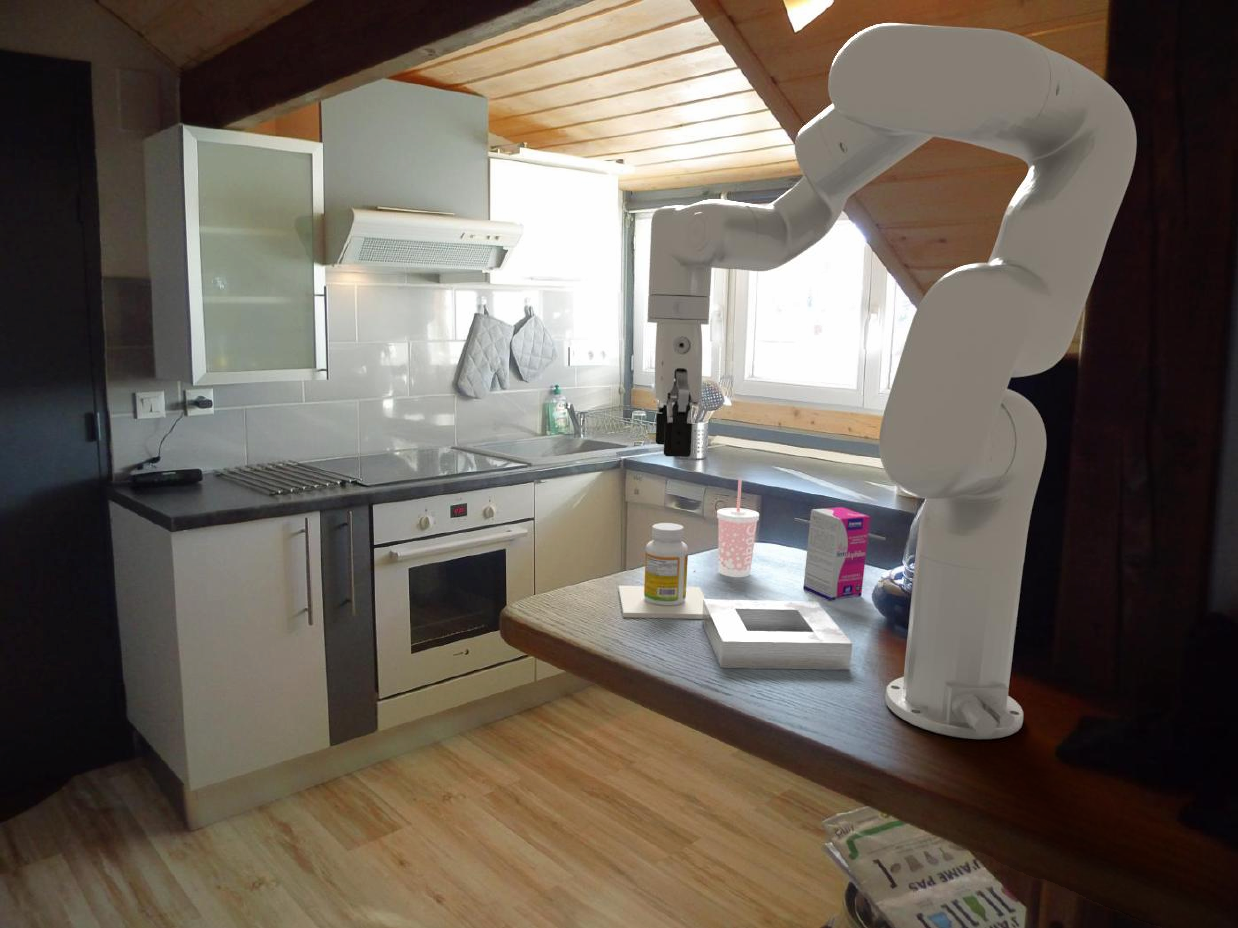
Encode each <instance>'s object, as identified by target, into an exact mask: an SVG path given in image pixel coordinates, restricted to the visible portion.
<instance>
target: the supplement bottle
mask: <svg viewBox="0 0 1238 928" xmlns="http://www.w3.org/2000/svg"><path fill="white" fill-rule="evenodd" d="M651 529H652V530H651V537H652V540H650V541H649V542H648V543H647V544H646V546H645V561H644V584H643V586H644V598H645V600H646V601H648V602H650V603H652V604H657V605H664V606H672V605H678V604H681V603H683V602H684V601H685V599H686V587H687V583H688V582H687V580H688V578H687V577H688V561H689V548H688V545H687V544H686V543H685V541H682V539H684V535H685V534H684V530H685V528H684V526H683V525H681V524H678V523H672V522H660V523H655V524H652V528H651Z"/></svg>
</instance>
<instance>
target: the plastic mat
mask: <svg viewBox="0 0 1238 928" xmlns="http://www.w3.org/2000/svg"><path fill="white" fill-rule="evenodd" d="M618 594H619V601H620V606H621V611H622V616H623V618H642V619H650V618H651V619H686V620H687V619H688V620H689V619H694V620H697V619H698V620H699V619H701V620H702V614H703V599H706V598H705V596H704V593H703V591H702V589H701V587H700V586H686V599H685V601H684V602H683V603H681V604H678V605H672V606H664V605H657V604H652V603H650V602H648V601H646V600H645V598H644V585H618Z"/></svg>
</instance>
